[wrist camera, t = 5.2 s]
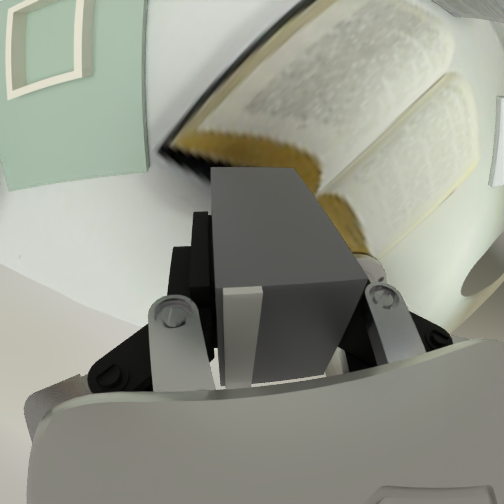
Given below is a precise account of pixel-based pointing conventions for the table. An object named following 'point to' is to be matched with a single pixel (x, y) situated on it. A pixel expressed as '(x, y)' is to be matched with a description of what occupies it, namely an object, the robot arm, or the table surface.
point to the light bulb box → (475, 8)
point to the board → (76, 97)
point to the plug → (277, 277)
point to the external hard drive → (498, 147)
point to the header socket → (17, 46)
